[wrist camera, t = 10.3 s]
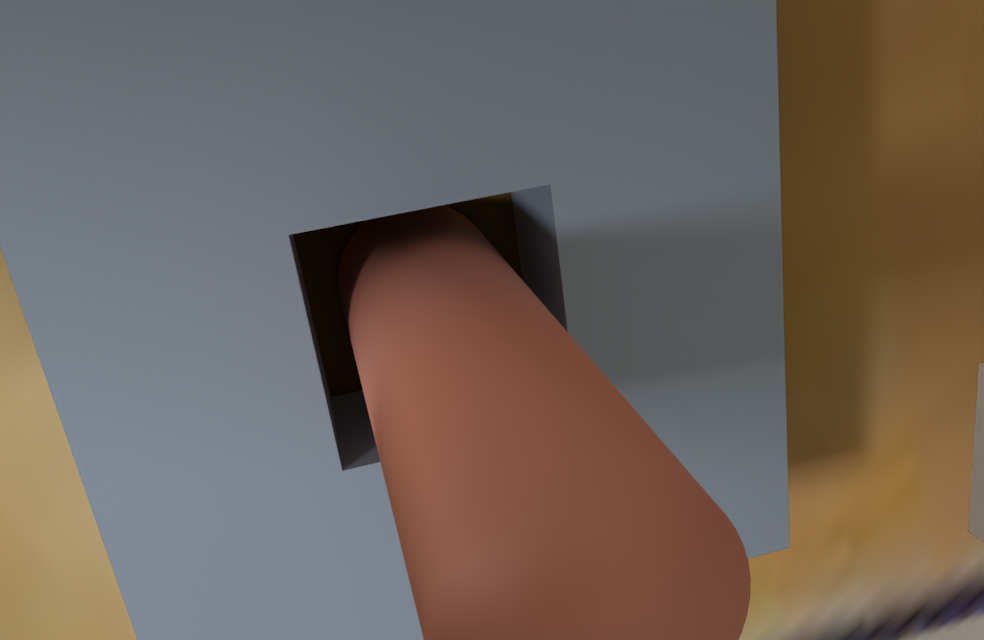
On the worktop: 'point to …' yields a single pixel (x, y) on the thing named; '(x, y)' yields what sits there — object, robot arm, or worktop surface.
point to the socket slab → (357, 197)
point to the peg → (522, 457)
